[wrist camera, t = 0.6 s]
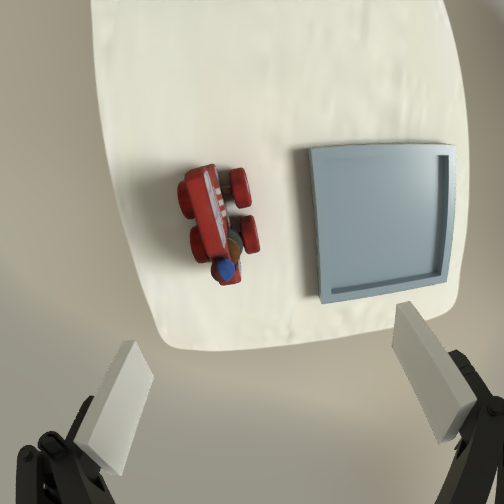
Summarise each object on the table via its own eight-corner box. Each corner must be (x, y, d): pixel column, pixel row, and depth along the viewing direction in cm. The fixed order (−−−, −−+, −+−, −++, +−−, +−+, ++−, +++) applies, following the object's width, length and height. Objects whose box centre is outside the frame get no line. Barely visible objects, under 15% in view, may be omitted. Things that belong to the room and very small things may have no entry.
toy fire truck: (206, 268, 36) (189, 319, 26) (179, 166, 31) (146, 182, 21) (264, 258, 35) (266, 308, 25) (242, 152, 30) (236, 161, 21)
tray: (307, 147, 30) (310, 149, 28) (446, 143, 29) (455, 145, 27) (318, 295, 37) (321, 304, 35) (439, 275, 36) (446, 282, 34)
